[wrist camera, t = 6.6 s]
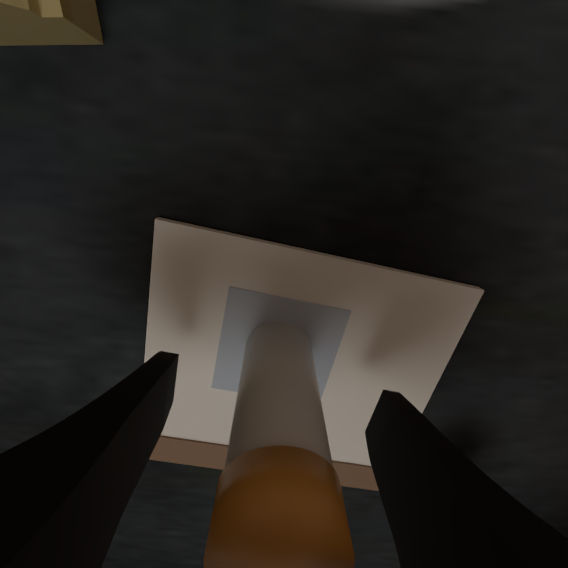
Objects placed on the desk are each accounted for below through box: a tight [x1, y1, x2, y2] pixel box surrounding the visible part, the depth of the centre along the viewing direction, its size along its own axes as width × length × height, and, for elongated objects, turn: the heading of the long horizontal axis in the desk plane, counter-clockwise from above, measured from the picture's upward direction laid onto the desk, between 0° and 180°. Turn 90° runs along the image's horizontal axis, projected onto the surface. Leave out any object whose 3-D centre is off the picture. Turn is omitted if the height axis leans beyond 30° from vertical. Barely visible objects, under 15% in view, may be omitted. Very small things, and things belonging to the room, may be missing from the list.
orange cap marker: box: [203, 321, 355, 568], centre depth 10 cm, size 3×3×8 cm
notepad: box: [144, 217, 485, 491], centre depth 14 cm, size 12×13×1 cm
